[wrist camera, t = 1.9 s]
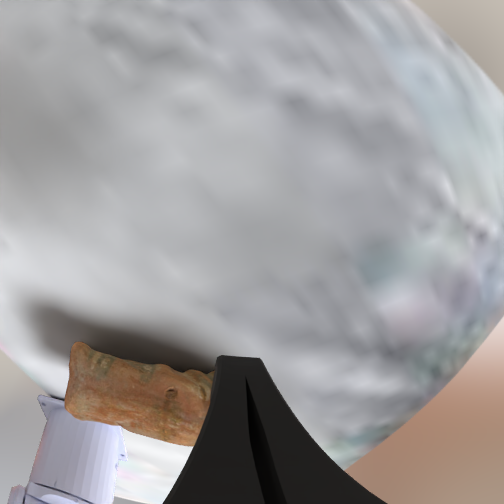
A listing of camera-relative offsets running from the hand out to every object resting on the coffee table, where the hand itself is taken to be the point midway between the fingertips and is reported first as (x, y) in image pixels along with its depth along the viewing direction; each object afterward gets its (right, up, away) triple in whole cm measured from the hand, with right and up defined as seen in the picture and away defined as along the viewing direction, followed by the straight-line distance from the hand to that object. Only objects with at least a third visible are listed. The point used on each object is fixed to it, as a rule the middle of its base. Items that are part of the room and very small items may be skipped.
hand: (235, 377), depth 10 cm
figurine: (-11, -5, +5) cm, 13 cm away
